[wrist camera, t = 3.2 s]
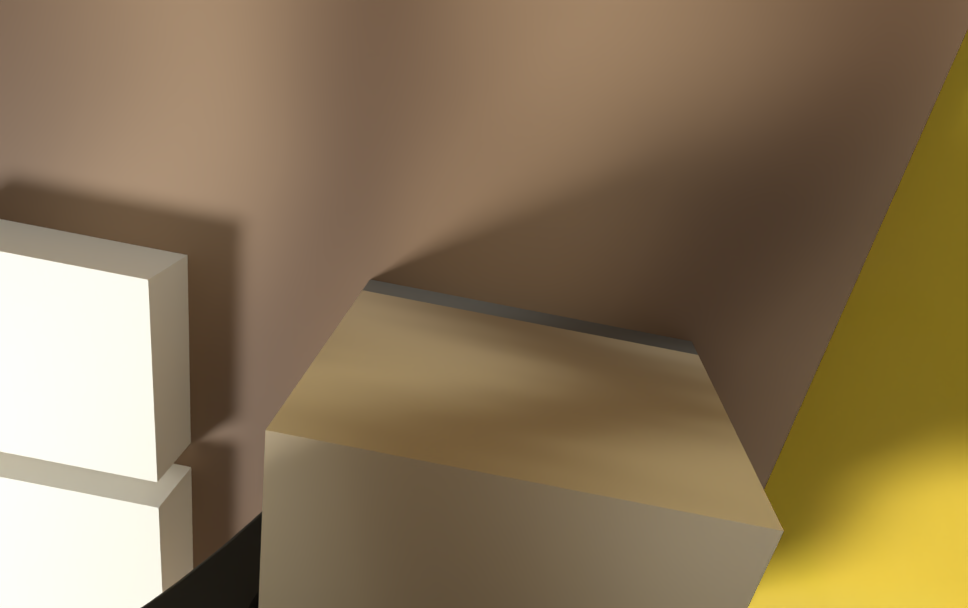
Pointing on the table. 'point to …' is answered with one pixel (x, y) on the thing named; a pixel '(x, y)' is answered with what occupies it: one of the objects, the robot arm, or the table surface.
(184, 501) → the paint flake
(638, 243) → the walnut board
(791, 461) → the table surface
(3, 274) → the paint flake
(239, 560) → the robot arm
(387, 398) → the block
